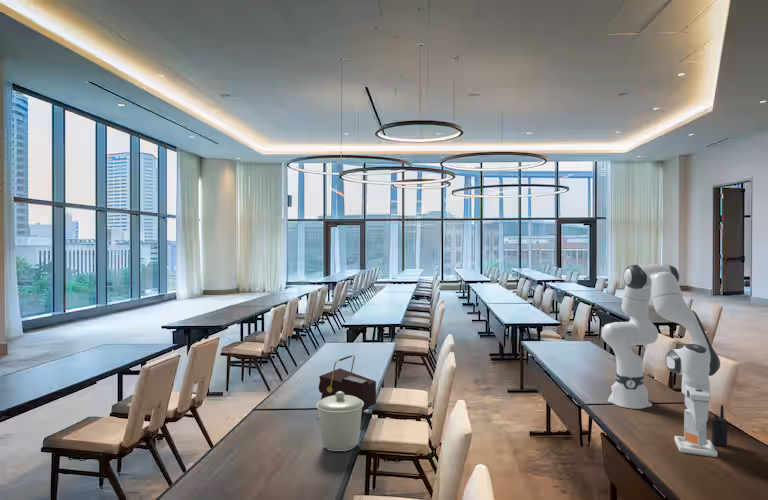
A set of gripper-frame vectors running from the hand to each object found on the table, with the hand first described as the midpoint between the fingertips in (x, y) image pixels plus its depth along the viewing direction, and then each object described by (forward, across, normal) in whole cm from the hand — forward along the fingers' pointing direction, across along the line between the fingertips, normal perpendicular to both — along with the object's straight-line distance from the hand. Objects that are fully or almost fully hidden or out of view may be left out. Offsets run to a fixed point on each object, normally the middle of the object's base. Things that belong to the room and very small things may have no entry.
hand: (695, 426), depth 184 cm
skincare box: (+7, 0, 0) cm, 7 cm away
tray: (+8, 0, 0) cm, 8 cm away
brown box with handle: (+9, +10, -138) cm, 139 cm away
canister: (+9, +45, -125) cm, 133 cm away
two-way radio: (+9, -7, +10) cm, 15 cm away
